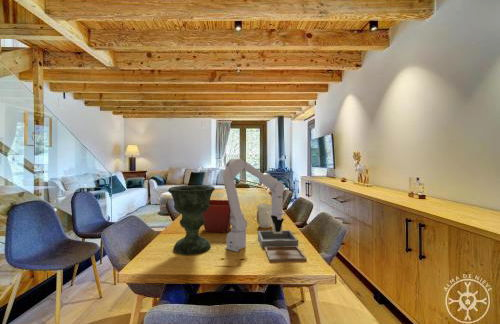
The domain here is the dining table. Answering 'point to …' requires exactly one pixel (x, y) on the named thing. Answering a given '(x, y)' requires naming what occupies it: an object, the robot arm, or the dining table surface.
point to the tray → (284, 254)
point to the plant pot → (217, 216)
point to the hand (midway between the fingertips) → (277, 230)
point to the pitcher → (264, 215)
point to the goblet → (191, 216)
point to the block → (275, 230)
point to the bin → (277, 239)
